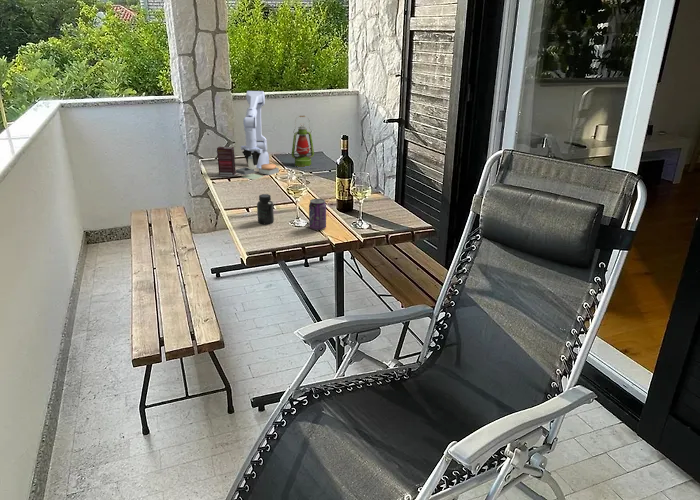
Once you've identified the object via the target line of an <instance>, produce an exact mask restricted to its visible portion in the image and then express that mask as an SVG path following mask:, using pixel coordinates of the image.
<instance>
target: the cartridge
mask: <svg viewBox="0 0 700 500" xmlns="http://www.w3.org/2000/svg"><path fill="white" fill-rule="evenodd" d="M247 165H248V166H247V168H248V169H254V170H257V168H256V165H254V164H253V157H252V155H251V156H249V157H248V164H247Z"/></svg>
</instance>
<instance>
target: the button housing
mask: <svg viewBox="0 0 700 500" xmlns="http://www.w3.org/2000/svg"><path fill="white" fill-rule="evenodd" d="M279 172H280V169H279V167H276V168H275V169H262V168H258V173H259V174H260V175H265V176H272V175H275V174H279Z"/></svg>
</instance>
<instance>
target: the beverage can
mask: <svg viewBox="0 0 700 500" xmlns="http://www.w3.org/2000/svg"><path fill="white" fill-rule="evenodd" d="M308 224H309V225H308V227H309V229H312V230H314V231H320V230H321V231H322V230H323V229H325V228H326V227H327V204H326V200H325V199H324V198H312V199H310V200H309V204H308Z"/></svg>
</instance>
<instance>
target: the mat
mask: <svg viewBox="0 0 700 500" xmlns="http://www.w3.org/2000/svg"><path fill="white" fill-rule="evenodd" d="M263 177H265V176H264V175H263V174H255V173H251V174H247V175H242V176H241V178H243V179H247V180H248V179H249V180H252V181H253V180H256V179H261V178H263Z"/></svg>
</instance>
